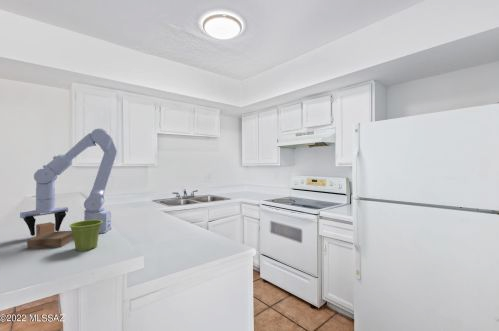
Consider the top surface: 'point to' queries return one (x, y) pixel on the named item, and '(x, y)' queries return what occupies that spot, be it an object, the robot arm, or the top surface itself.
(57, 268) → the top surface
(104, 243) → the top surface
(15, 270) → the top surface
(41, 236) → the walnut plinth
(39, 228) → the terracotta block
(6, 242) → the top surface
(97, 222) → the plant pot
